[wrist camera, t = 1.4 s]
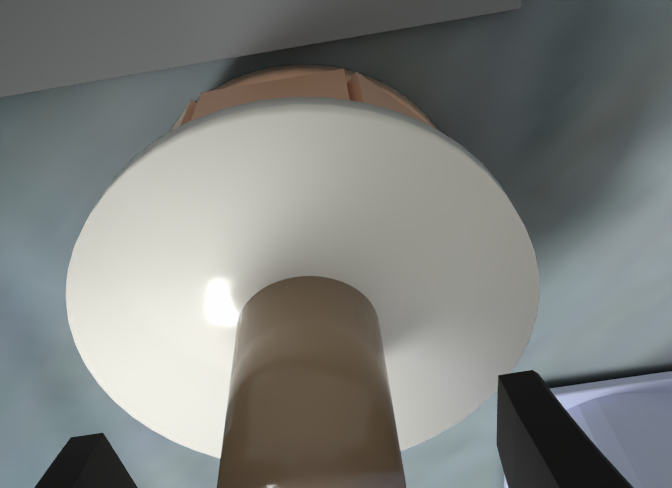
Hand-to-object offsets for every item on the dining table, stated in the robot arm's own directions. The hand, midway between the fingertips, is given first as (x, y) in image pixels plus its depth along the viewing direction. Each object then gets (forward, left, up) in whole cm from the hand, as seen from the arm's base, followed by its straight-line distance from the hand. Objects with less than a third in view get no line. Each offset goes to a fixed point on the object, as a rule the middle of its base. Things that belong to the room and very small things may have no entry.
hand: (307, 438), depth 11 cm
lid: (0, 0, -4) cm, 4 cm away
